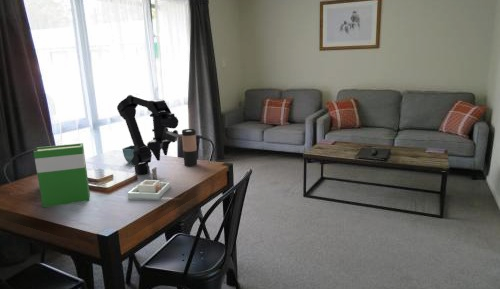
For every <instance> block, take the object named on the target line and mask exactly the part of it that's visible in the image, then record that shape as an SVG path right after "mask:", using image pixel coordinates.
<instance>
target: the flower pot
mask: <svg viewBox="0 0 500 289" xmlns="http://www.w3.org/2000/svg"><path fill="white" fill-rule="evenodd" d="M133 151H134V144H132V145H129V146H126V147H123V148H122V154H123V157H124V160H125V161H126V162H127V164H131V160H132V158H133V157H134V154H133Z"/></svg>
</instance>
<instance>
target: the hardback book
mask: <svg viewBox="0 0 500 289" xmlns="http://www.w3.org/2000/svg"><path fill="white" fill-rule="evenodd" d="M33 158H34V162H35V168H36V174H37V180H38V185H39V191H40V198H41V204H42V208H47V207H54V206H62V205H68V204H75V203H82V202H88V201H90V199H91V197H90V196H91V193H90V185H89V179H88V178H89V177H88V172H87V171H88V170H87V163H86V156H85V149H84V143H83V142H82V143H70V144H60V145H50V146H48V145H47V146H39V147H36V150H33Z"/></svg>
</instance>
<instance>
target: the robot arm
mask: <svg viewBox="0 0 500 289" xmlns="http://www.w3.org/2000/svg"><path fill="white" fill-rule="evenodd" d="M138 105H139V106H141V107H144V108H146V109H147V110H148V111H149V112H150V115H149V117H151V118H152V126H153V128H152V130H151V131H152V132H153V134H154V135H153V137H152V139H151V140H149V141H148V142H147V145H146V144H145V142H144V139H143V137H142V134H141V131H140V128H139V125H138V122H137V118H136V115H137V109H136V108H137V107H138ZM116 108H117V111H118V114H119V115H120V117H121V118H122V119H123V120H124V121H125V124H126V126H127V129H128V132H129V135H130V138H131V141H132V143H133V144H132V145H133V146H134V151H133V154H134V157H133V158H132V160H131V163H130V164H131V166H133V167H134V172H135V175H138V176H143V175H149V174H150V173H151V171H150V168H151V167H150V165H149V163H151V162H152V155H153V156H154V157H155V159H156V161H158V162H159V161H160V160H161V150H162V153H163V155H164V156H168V151H169V146H170V144H171V143H176V142H177V141H178V138H179V137H180V134H179V130H176V128H178V126H179V120H178V118H177V116H175V115H176V114H175V113H172V111H171V109H170V107H169V106H168V104H167V102H166V100H165V99H152V98H149V97H145V96H142V95H139V94H137V93H136V94H135V93H133V94H129V95H127V96H126V97H125V98H124V99H122V100H120V102H119V103H118V104H117V106H116ZM169 129H174V130H173V131H170V130H169Z"/></svg>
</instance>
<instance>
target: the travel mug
mask: <svg viewBox="0 0 500 289" xmlns="http://www.w3.org/2000/svg"><path fill="white" fill-rule="evenodd" d="M196 132H197V131H196V130H195V129H194V128H185V129H182V130H181V135H182V136H181V138H182V153H183V162H184V165H183V166H184V167H195V166H197V165H198V150H197V147H198V146H197V133H196Z"/></svg>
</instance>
